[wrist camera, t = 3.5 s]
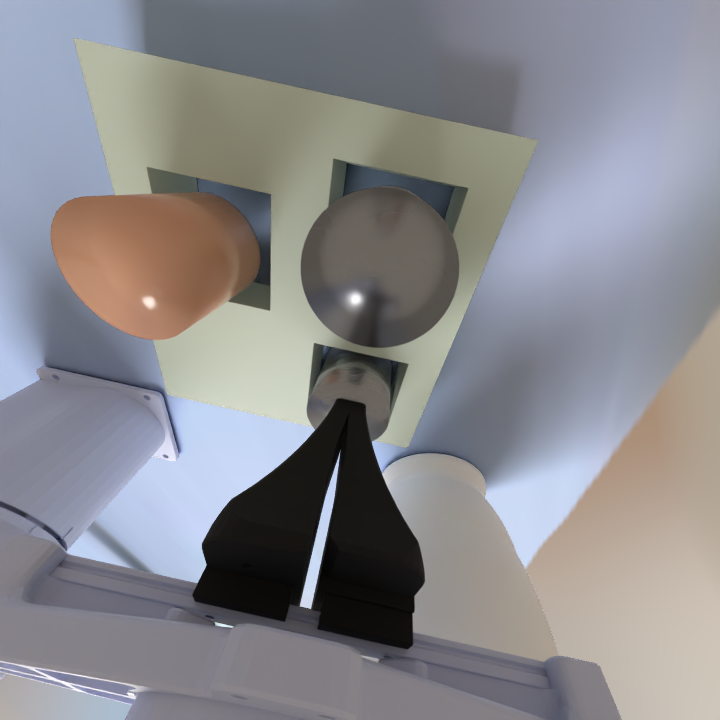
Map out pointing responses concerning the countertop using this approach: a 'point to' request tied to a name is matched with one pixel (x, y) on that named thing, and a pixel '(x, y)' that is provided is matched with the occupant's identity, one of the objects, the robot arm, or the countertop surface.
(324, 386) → the grey plug
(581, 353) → the countertop surface
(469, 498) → the jar
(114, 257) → the terracotta plug
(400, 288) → the grey plug
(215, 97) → the socket board
